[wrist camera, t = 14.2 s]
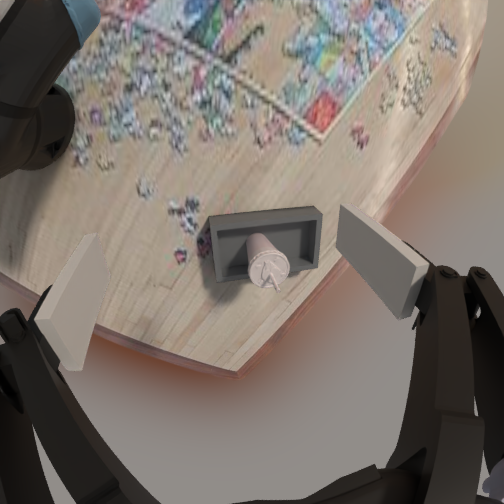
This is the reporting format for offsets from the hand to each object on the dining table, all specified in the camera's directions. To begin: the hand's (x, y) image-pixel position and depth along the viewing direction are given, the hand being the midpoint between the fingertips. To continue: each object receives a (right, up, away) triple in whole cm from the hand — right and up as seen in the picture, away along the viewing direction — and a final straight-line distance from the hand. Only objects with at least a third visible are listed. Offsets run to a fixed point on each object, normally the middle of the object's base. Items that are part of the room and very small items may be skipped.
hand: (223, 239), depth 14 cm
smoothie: (+2, +1, +36) cm, 36 cm away
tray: (+4, +2, +37) cm, 37 cm away
